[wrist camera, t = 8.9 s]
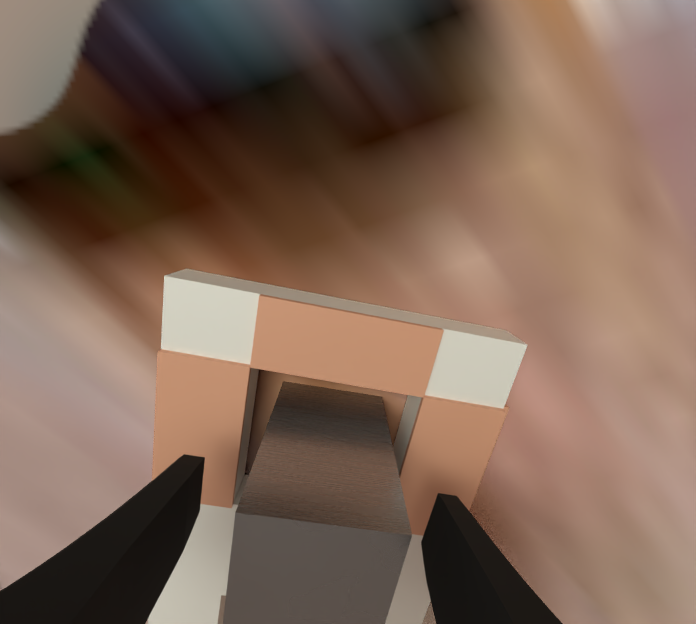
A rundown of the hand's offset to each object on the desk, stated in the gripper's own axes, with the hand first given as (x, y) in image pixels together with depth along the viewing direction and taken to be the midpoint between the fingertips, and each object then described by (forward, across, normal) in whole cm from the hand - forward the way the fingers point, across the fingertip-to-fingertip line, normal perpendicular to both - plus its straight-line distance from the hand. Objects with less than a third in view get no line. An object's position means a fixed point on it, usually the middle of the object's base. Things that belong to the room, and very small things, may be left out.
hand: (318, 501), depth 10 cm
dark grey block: (+4, 0, 0) cm, 4 cm away
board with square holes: (+4, 0, +6) cm, 7 cm away
